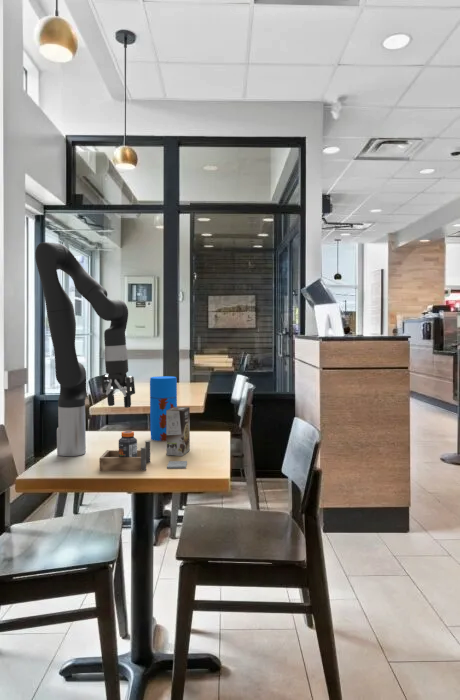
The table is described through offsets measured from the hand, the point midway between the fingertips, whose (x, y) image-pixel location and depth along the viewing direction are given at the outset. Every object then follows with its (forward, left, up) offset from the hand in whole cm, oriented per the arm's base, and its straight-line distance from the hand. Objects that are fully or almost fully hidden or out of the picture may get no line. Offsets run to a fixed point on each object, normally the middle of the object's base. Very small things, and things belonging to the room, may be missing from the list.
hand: (119, 406), depth 179 cm
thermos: (+11, +36, -19) cm, 42 cm away
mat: (+20, -8, -18) cm, 28 cm away
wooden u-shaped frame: (+3, -8, -18) cm, 20 cm away
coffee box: (+19, +10, -19) cm, 28 cm away
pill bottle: (+4, -8, -19) cm, 21 cm away
